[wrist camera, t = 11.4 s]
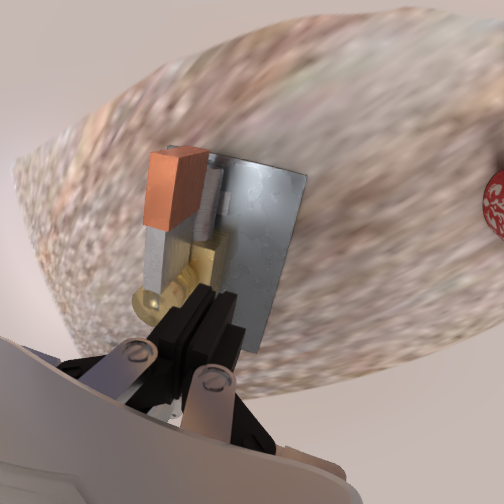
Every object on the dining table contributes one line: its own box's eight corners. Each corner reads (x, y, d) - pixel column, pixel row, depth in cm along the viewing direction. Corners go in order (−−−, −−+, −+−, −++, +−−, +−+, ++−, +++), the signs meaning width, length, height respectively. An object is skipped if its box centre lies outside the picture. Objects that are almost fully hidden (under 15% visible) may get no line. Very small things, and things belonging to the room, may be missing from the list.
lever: (194, 297, 28) (169, 334, 23) (161, 286, 28) (131, 318, 23) (219, 152, 22) (190, 160, 17) (178, 144, 23) (140, 150, 17)
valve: (257, 350, 36) (248, 379, 31) (155, 317, 38) (137, 340, 33) (307, 175, 27) (305, 184, 22) (169, 145, 28) (143, 149, 24)
